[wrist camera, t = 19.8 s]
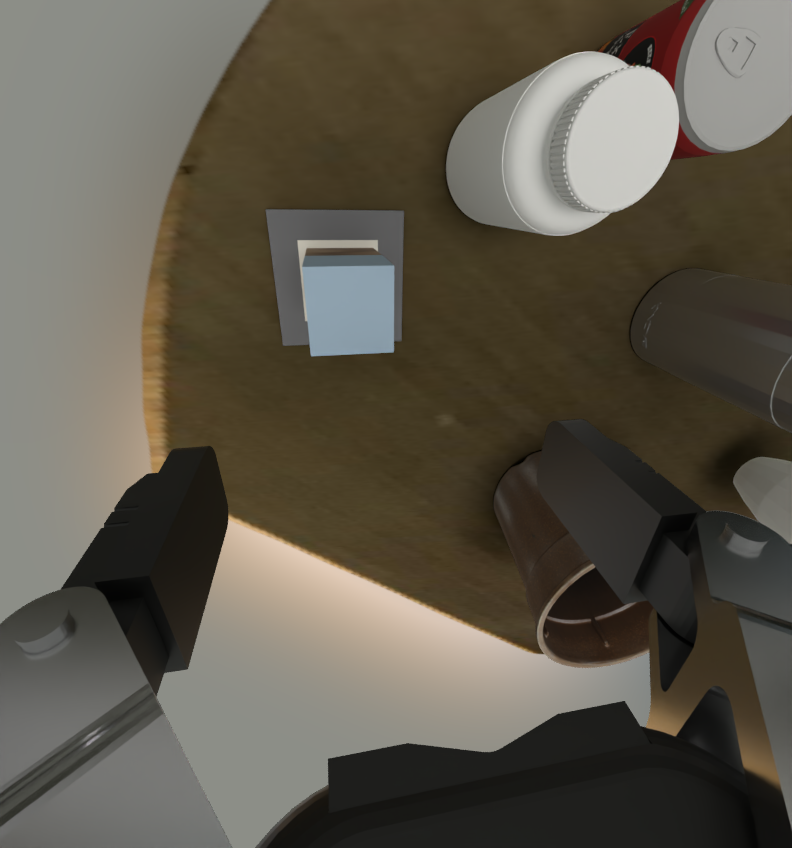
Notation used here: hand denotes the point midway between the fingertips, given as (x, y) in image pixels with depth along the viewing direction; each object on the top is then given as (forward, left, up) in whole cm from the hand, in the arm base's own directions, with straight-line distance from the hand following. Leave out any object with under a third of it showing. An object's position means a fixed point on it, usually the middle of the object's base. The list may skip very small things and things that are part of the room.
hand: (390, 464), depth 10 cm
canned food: (-21, -12, -26) cm, 36 cm away
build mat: (0, 0, -26) cm, 26 cm away
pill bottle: (-12, -8, -26) cm, 30 cm away
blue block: (0, 0, -20) cm, 20 cm away
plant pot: (-22, +24, -26) cm, 42 cm away
